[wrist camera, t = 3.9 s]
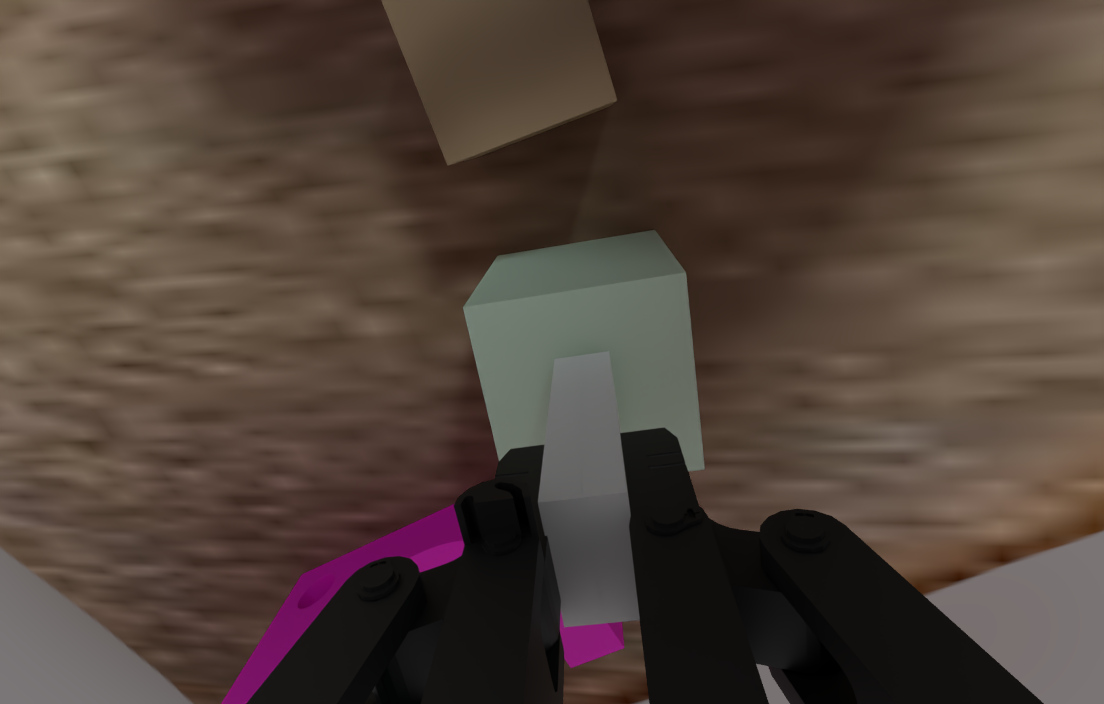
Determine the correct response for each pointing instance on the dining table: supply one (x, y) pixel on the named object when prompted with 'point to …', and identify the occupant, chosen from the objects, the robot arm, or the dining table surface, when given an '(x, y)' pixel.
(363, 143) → the dining table surface
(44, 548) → the dining table surface
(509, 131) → the walnut block
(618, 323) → the sage block
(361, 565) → the toy block
